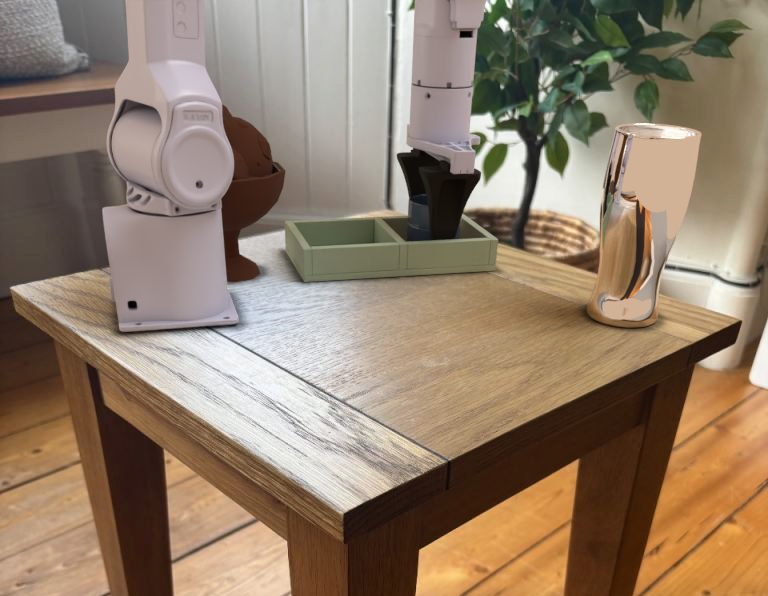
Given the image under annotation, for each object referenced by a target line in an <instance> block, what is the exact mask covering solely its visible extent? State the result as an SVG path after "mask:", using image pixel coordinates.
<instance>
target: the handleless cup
mask: <svg viewBox="0 0 768 596" xmlns="http://www.w3.org/2000/svg"><path fill="white" fill-rule="evenodd" d="M407 216H408V227H407V242H411V241H431V235H430V224H429V207H428V200H427V194H418V195H414V196H411V197H410V198H409V197H408V207H407ZM461 218H462V217H461ZM460 230H461V220H460V224H459V227H458V231H457V234H456V237H455V239H460Z"/></svg>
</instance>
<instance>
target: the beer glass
mask: <svg viewBox="0 0 768 596" xmlns="http://www.w3.org/2000/svg"><path fill="white" fill-rule="evenodd" d="M702 136H703V135H702V132H701V131H699V130H697V129H694V128H690V127H686V126H680V125H673V124H666V123H665V124H664V123H651V122H650V123H649V122H648V123H647V122H632V123H631V122H630V123H623V124H622V123H621V124H618V125H616V126H615V128H614V133H613V138H612V141H611V145H610V149H609V153H608V158H607V162H606V165H605V171H604V176H603V181H602V188H601V195H600V207H599V258H598V259H599V261H598V268H597V269H598V271H597V276H596V280H595V283H594V287H593V289H592V292H591V294H590V298H589V300H588V303H587V307H586V313H587V315H588V316H589V317H590V318H591V319H592V320H594V321H596V322H598V323H601V324H604V325H607V326H611V327H617V328H618V327H619V328H626V329H627V328H628V329H629V328H631V329H632V328H633V329H634V328H635V329H636V328H644V327H650V326H651V325H653V324H655V323H656V322H657V320H658V317H659V300H660V299H659V298H660V286H661V281H662V278H663V273H664V270H665V267H666V265H667V261H668V259H669V257H670V255H671V252H672V249H673V247H674V245H675V242H676V239H677V237H678V234H679V232H680V229H681V228H682V225H683V222H684V219H685V216H686V214H687V211H688V207H689V203H690V199H691V196H692V191H693V187H694V181H695V177H696V173H697V172H696V171H697V164H698V160H699V159H698V158H699V152H700V151H699V150H700V144H701V139H702Z"/></svg>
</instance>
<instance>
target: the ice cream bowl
mask: <svg viewBox="0 0 768 596" xmlns="http://www.w3.org/2000/svg"><path fill="white" fill-rule="evenodd" d="M222 118H223V126H224V130H225V134H226V136H227V138H228V141H229V143H230V145H231V148H232V152H233V157H234V172H233V178H232V181H231V184H230V186H229V188H228V190H227V192H226V193H225V195H224V196H223V197H222V198H221V203H222V208H221V212H222V225H223V238H224V250H225V263H226V276H227V283H228V282H229V283H231V282H233V283H237V282H241V281H242V282H243V281H248V280H253V279H255V278H257V277H258V276H259V275H261V270H260V268H259V266H258V264H257V263H256V262H255V261H254V260H251V259H250V258H248V257H246V256H244V255H242V254H241V253H240V245H239V244H240V243H239V237H240V233H241V231H242V230H244V229H245V228H247V227H250V226H251V225H254V224H255V223H257V222H258V221H259V220H260V219H263V217H265V216H266V215H267V214H268V213H269V212H270V211H271V209H273V207H275V205H276V204H277V203H278V201H279V199H280V196H281V195H282V191H283V189H284V184H285V177H286V169H285V168H284V167H283V166H282V165H281V164H280V163H279V162H277V161H274V160H273V156H272V148H271V144H270V143H269V141H268V139H267V138H266V137H265V136H264V134H263V133H262V132H260V130H258V128H256V126H255V125H253V124H252V123H251V122H249V121H247V120H245V119H243V118H241V117H238V116H233V115H232V113H231V112H230V111H229V109H228V107H227V106H226V105H225V104H223V103H222Z"/></svg>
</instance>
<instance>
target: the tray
mask: <svg viewBox="0 0 768 596" xmlns="http://www.w3.org/2000/svg"><path fill="white" fill-rule="evenodd" d="M407 227H408V215H395V216H394V215H392V216H391V215H389V216H370V217H345V218H319V219H299V220H298V219H296V220H285V221H284V241H285V246H284V247H285V252H286V254H287V256H288V258H289V260H290V261H291V262H292V264H293V266H294V268H295V269H296V271H297V273H298V274H299V276H300V278H301V279H302V281H303V282H304V283H313V282H314V283H315V282H330V281H345V280H348V281H349V280H361V279H363V280H364V279H379V278H395V277H396V278H397V277H411V276H412V277H413V276H428V275H446V274H462V273H464V274H465V273H479V272H495V271H496V268H497V267H496V266H497V265H496V264H497V256H498V247H499V246H498V245H499V239H498V238H497V237H496V236H494V235H493V234H491V232H489V231H488V230H486V229H485V228H483V227H482V226H481V225H479V224H478V223H477V222H476V221H475V220H472V219H471V218H470V217H469V216H467V215H466V214H464V213H463V214H462V218H461V230H460V239H451V240H431V241H411V242H407Z"/></svg>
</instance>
